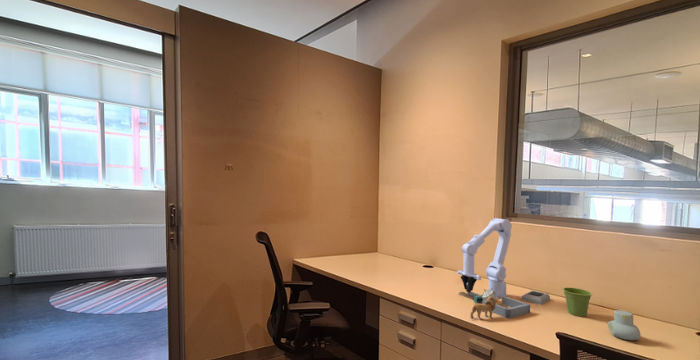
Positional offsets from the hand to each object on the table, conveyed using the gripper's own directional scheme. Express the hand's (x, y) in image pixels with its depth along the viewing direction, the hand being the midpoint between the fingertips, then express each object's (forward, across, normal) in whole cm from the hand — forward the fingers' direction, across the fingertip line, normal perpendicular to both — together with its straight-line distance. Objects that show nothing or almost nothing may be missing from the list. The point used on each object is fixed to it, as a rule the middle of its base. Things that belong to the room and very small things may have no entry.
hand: (468, 289), depth 173 cm
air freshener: (+4, +63, +18) cm, 65 cm away
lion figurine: (+4, +24, -18) cm, 30 cm away
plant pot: (+4, +40, +29) cm, 50 cm away
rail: (+4, 0, 0) cm, 4 cm away
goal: (+4, +23, 0) cm, 23 cm away
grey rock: (+4, +14, 0) cm, 14 cm away
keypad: (+5, +19, +32) cm, 37 cm away
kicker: (+4, +4, 0) cm, 6 cm away
